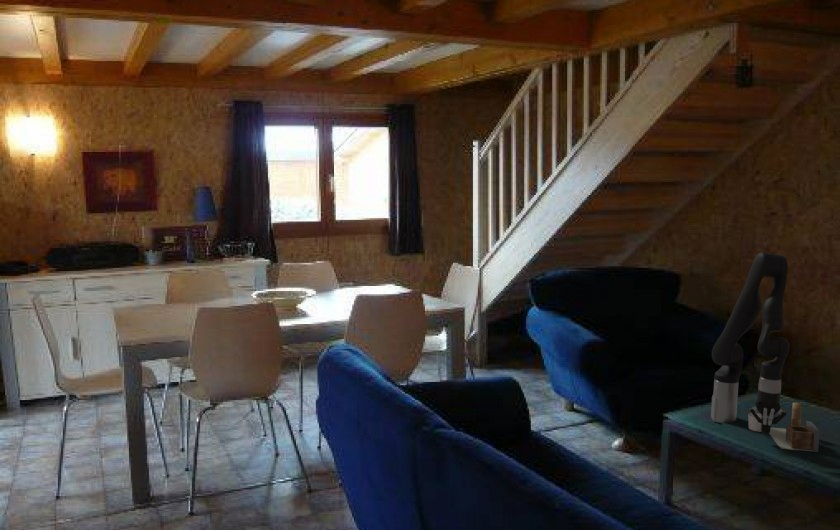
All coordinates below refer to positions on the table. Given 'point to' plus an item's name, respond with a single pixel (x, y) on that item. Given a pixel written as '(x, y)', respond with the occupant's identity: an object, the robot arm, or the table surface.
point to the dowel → (796, 414)
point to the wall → (816, 434)
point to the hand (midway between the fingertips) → (765, 433)
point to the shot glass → (754, 422)
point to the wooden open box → (799, 436)
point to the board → (783, 439)
